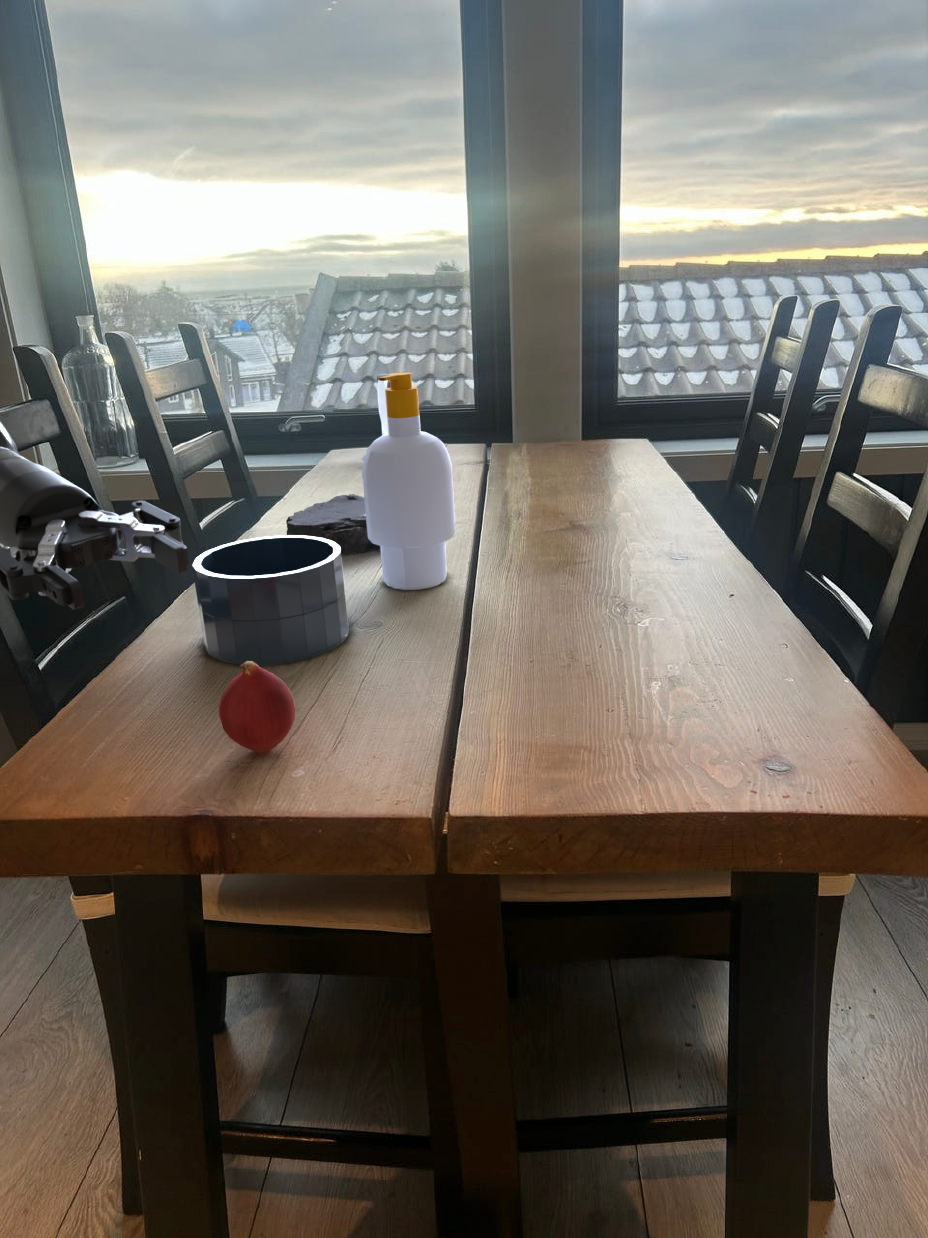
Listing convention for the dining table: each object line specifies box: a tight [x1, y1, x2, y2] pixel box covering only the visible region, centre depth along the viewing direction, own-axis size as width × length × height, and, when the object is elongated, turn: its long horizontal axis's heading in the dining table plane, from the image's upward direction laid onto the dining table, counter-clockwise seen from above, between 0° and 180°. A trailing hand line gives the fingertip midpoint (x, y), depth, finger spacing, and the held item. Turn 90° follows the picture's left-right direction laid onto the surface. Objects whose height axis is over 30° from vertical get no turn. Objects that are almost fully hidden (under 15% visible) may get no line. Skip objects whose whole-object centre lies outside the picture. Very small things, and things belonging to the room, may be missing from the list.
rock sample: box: [285, 493, 381, 556], centre depth 136 cm, size 18×16×5 cm
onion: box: [218, 661, 296, 756], centre depth 78 cm, size 6×6×8 cm
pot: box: [191, 535, 350, 667], centre depth 102 cm, size 15×15×9 cm
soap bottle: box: [361, 372, 457, 591], centre depth 114 cm, size 10×10×24 cm
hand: (132, 579), depth 75 cm, fingers open, 8 cm apart
